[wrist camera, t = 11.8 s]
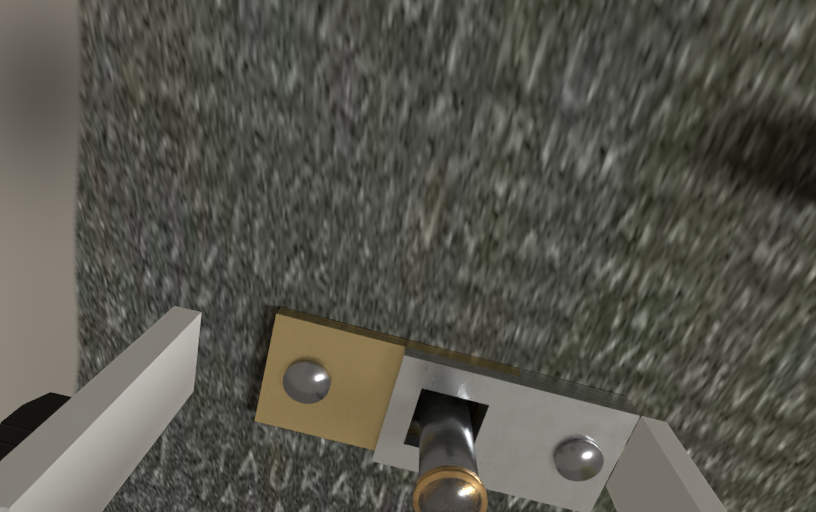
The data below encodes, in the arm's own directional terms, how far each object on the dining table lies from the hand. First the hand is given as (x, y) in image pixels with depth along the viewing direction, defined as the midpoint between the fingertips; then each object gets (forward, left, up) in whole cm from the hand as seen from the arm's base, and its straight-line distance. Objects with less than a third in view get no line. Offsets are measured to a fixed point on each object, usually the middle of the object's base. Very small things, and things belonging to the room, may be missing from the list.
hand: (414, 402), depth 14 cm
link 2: (+19, +13, -29) cm, 37 cm away
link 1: (+19, +2, -29) cm, 34 cm away
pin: (+19, +8, -29) cm, 35 cm away
